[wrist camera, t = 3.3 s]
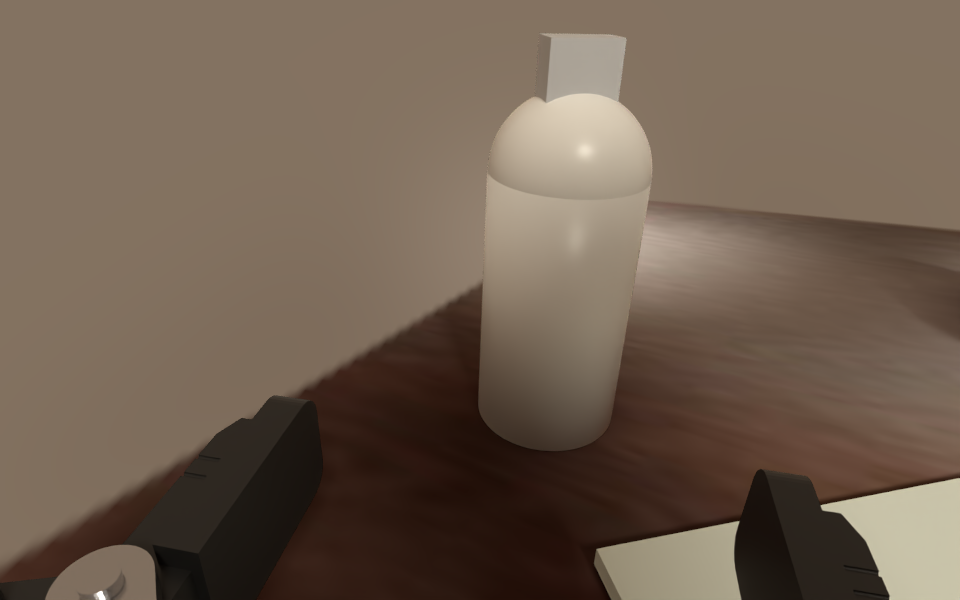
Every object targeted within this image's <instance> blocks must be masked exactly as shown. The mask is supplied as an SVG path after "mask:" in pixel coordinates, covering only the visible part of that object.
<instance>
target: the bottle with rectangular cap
mask: <svg viewBox="0 0 960 600" xmlns="http://www.w3.org/2000/svg"><path fill="white" fill-rule="evenodd" d="M625 47H626V38H623V37H619V36H615V35H612V34H611V35H610V34H539V44H538V58H537V72H536V85H535V86H536V87H535V96H534V97H532V98H530V99H529V100H527V101H525V102H524V103H523V104H521V105H520V106H519V107H518V108H516V109H515V110H514V111H513V112H512V114H510V115H509V117H508V118H507V119H506V120H505V122H504V123H503V125H502V126H501V127H500V129H499V131H498V133H497V135H496V137H495V139H494V142H493V144H492V147H491V151H490V155H489V159H488V169H487V192H486V216H485V241H484V243H485V244H484V268H483V292H482V317H481V342H480V367H479V393H478V408H479V412H480V415H481V417H482V419H483V421H484V422H485V423H486V425H487V426H488V427H489V428H490V429H491V430H492V431H493V432H495V433H496V434H497V435H499V436H500V437H502V438H504V439H505V440H507V441H509V442H511V443H514V444H516V445H519V446H522V447H526V448H530V449H535V450H541V451H565V450H572V449H576V448H580V447H583V446H586V445H588V444H590V443H592V442H594V441H595V440H597V439H598V438H600V437H601V436H602V435H603V434H604V433H605V431H606V430H607V429H608V427H609V425H610V421H611V417H612V411H613V405H614V399H615V393H616V387H617V381H618V376H619V370H620V364H621V358H622V352H623V346H624V340H625V334H626V328H627V323H628V317H629V311H630V305H631V299H632V293H633V287H634V281H635V275H636V270H637V264H638V258H639V252H640V246H641V240H642V234H643V228H644V222H645V217H646V211H647V205H648V199H649V193H650V187H651V180H652V157H651V151H650V146H649V144H648V140H647V137H646V135H645V133H644V131H643V129H642V127H641V125H640V124H639V122H638V121H637V119H636V118H635V117H634V116H633V115H632V113H631V112H630V111H629V110H628V109H627V108H626V107H624V106H623V105H622V104H621V103H620V102H618V99H619V91H620V83H621V76H622V69H623V61H624V54H625Z"/></svg>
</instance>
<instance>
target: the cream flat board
mask: <svg viewBox="0 0 960 600" xmlns="http://www.w3.org/2000/svg"><path fill="white" fill-rule="evenodd" d="M821 508H822V510H823V511H829V512H836V513H841V514H842V515H843V516H844V517H845V518H846V519H847V521H848V522H849V523H850V524H851V525H852V526H853V527H854V528H855V529H856V531H857V532H858V533H859V534H860V535H861V536H862V537H863V538H864V540H865V541H866V543H867V545H868V547H869V549H870V552H871V554H872V556H873V559H874V561H875V563H876V565H877V568H878V570H879V573H878V574H879V577H882V579H883V581H884V584H885V586H886V588H887V591H888V593H889V595H890V597H889V600H960V478H957V479H952V480H947V481H942V482H937V483H932V484H927V485H922V486H916V487H911V488H906V489H901V490H896V491H891V492H886V493H881V494H875V495H870V496H865V497H860V498H855V499H850V500H845V501H840V502H834V503H829V504H824V505H821ZM739 522H740V521H737V522H732V523H727V524H722V525H717V526H711V527H706V528H701V529H696V530H691V531H686V532H681V533H676V534H670V535H665V536H660V537H655V538H650V539H645V540H640V541H635V542H629V543H624V544H619V545H614V546H609V547H604V548H599V549H596V555H595V560H594V565H595V567H596V569H597V571H598V573H599V575H600V578H601V580H602V582H603V584H604V586H605V588H606V590H607V592H608V594H609V596H610V598H611V600H741V596H740V591H739V586H738V581H737V576H736V570H735V563H734V544H735V536H736V531H737V528H738V525H739Z"/></svg>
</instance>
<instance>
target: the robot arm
mask: <svg viewBox="0 0 960 600" xmlns="http://www.w3.org/2000/svg"><path fill="white" fill-rule="evenodd" d="M322 469H323V459H322V451H321V443H320V434H319V426H318V417H317V410H316V406H315V404H314V402H313V401H310V400H303V399H296V398H289V397H283V396H272V397H270V398H269V399H268V400H267V401H266V403H265V404H264V405H263V407H262V408H261V409H260V410H259V411H258V413H257V414H256V415H255V416H254V418H253V419H252V420H251V419H245V418H241V419H239V420H238V421H236V422H235V423H233V424H231V425H230V426H228V427H227V428H225V429H224V430H222V431H221V432H219V433H217V434H216V435H215V436H214V438H213V439H212V440H211V441H210V442H209V443H208V445H207V446H206V447H205V448H204V449H203V450H202V452H201V453H200V454H199V458H198V459H195V460H194V461H193V462H192V463H191V465H190V466H189V467H188V468H187V469H186V470H185V472H184V476H180V477H179V479H178V480H177V481H176V482H175V483H174V485H173V486H172V487H171V488H170V489H169V490H168V492H167V493H166V494H165V495H164V496H163V497H162V499H161V500H160V501H159V502H158V503H157V505H156V506H155V507H154V508H153V509H152V510H151V512H150V513H149V514H148V515H147V516H146V517H145V519H144V520H143V521H142V522H141V523H140V524H139V526H138V527H137V528H136V529H135V530H134V532H133V533H132V534H131V535H130V536H129V537H128V539H127V540H126V541H125V542H124V543H123V544H122V545H115V546H110V547H106V548H102V549H99V550H96V551H94V552H92V553H90V554H87V555H85V556H84V557H82V558H80V559H79V560H77V561H75V562H74V563H73V564H71V565H70V566H69V567H67V568H66V569H65V570H64V571H63V572H62V573H61V574H60V575H59V576H58V577H52V578H43V579H33V580H24V581H15V582H6V583H0V600H256V599H257V597H258V595H259V593H260V592H261V590H262V588H263V586H264V584H265V583H266V581H267V579H268V577H269V576H270V574H271V572H272V570H273V569H274V567H275V565H276V563H277V562H278V560H279V558H280V556H281V554H282V553H283V551H284V549H285V547H286V546H287V544H288V542H289V540H290V539H291V537H292V535H293V533H294V531H295V530H296V528H297V526H298V524H299V523H300V521H301V519H302V517H303V516H304V514H305V512H306V510H307V509H308V507H309V505H310V503H311V501H312V500H313V498H314V496H315V494H316V492H317V490H318V487H319V484H320V480H321V476H322ZM734 563H735V570H736V576H737V581H738V586H739V591H740V596H741V600H889V597H890V595H889V593H888V591H887V588H886V586H885V584H884V581H883V579H882V577H879V574H878V573H879V570H878V568H877V565H876V563H875V561H874V559H873V556H872V554H871V552H870V549H869V547H868V545H867V543H866V541H865V540H864V538H863V537H862V536H861V535H860V534H859V533H858V532H857V531H856V529H855V528H854V527H853V526H852V525H851V524H850V523H849V522H848V521H847V519H846V518H845V517H844V516H843V515H842V514H841V513H836V512H829V511H823V510H822V508H821V505H820V503H819V500H818V497H817V495H816V492H815V489H814V487H813V484H812V482H811V480H810V479H809V478H808V477H807V476H803V475H796V474H789V473H782V472H776V471H769V470H762V469H760V470H758V471H757V472H756V474H755V476H754V479H753V482H752V485H751V488H750V491H749V494H748V497H747V500H746V503H745V506H744V510H743V513H742V516H741V519H740V522H739V525H738V528H737V531H736V536H735V544H734Z"/></svg>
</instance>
